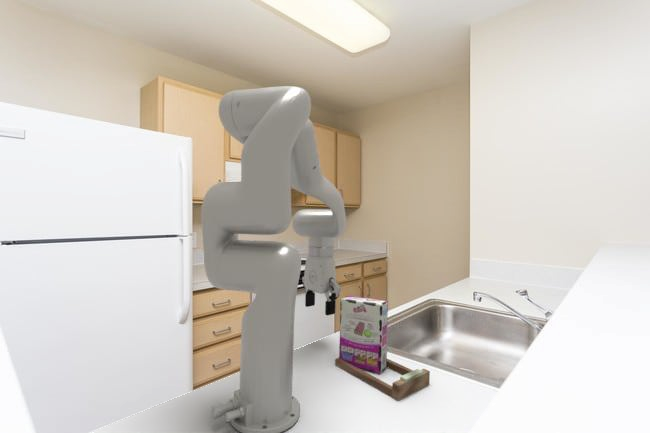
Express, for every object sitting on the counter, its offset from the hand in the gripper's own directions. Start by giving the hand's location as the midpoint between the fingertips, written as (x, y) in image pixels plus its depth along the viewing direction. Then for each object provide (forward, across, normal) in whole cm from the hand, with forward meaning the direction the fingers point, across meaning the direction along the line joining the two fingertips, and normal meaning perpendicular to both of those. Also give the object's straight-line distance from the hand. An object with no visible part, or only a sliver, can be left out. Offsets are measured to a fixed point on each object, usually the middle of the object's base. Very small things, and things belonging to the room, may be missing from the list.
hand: (319, 310), depth 95 cm
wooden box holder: (+9, +25, -1) cm, 26 cm away
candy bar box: (+9, +19, -1) cm, 21 cm away
